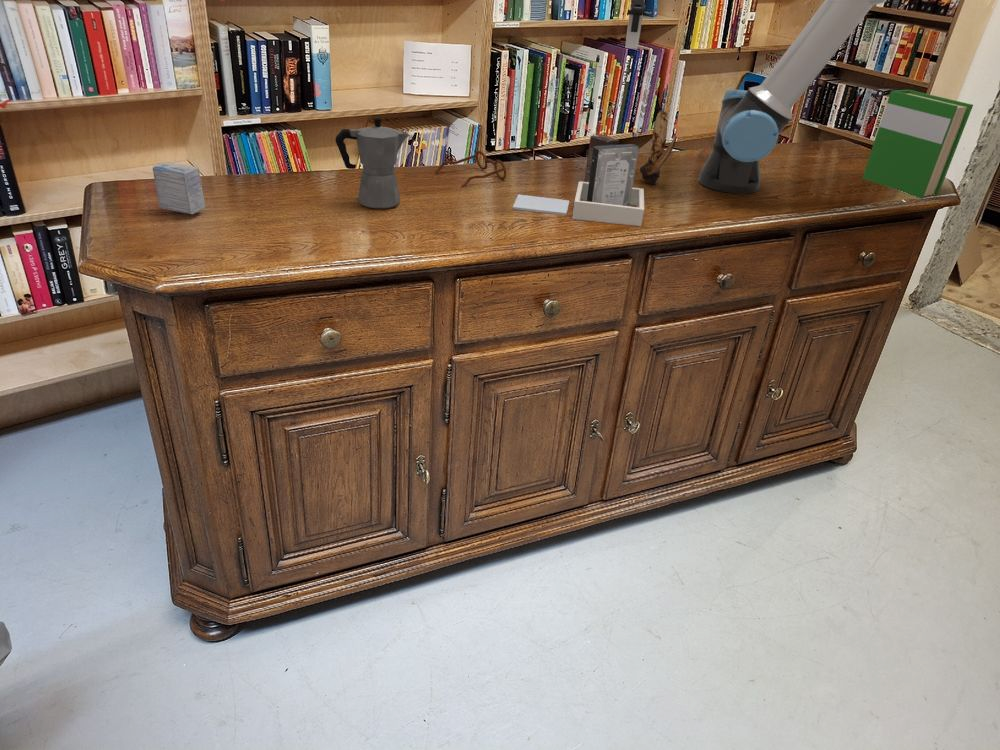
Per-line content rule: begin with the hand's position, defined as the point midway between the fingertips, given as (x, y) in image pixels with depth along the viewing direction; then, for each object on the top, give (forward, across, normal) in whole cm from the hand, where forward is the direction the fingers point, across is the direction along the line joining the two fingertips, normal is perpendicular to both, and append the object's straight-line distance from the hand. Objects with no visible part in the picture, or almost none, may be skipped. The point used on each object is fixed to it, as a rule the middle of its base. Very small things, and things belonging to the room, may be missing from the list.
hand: (631, 44), depth 167 cm
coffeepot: (+33, +30, -51) cm, 68 cm away
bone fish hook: (+33, -5, +10) cm, 35 cm away
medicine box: (+33, +48, -86) cm, 104 cm away
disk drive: (+33, +19, 0) cm, 38 cm away
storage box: (+33, +19, 0) cm, 38 cm away
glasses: (+33, +4, -34) cm, 48 cm away
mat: (+33, +20, -15) cm, 41 cm away
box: (+33, +1, -3) cm, 33 cm away
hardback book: (+33, -26, +76) cm, 87 cm away
